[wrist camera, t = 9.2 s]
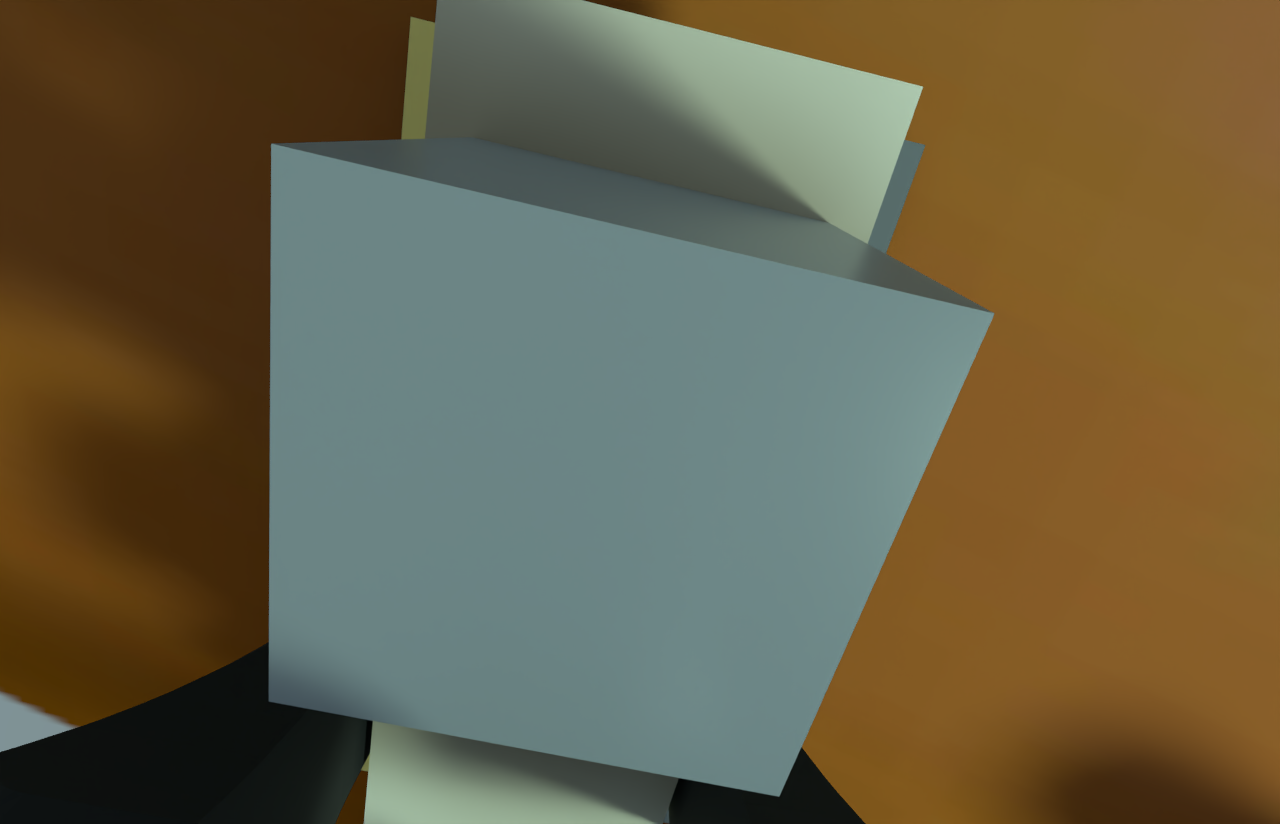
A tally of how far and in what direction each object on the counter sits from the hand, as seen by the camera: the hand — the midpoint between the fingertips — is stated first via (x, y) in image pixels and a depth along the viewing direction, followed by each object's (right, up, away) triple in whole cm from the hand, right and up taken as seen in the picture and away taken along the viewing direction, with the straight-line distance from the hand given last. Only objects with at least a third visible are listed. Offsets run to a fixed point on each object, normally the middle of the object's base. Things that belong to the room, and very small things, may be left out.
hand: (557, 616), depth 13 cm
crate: (+1, +5, -5) cm, 7 cm away
